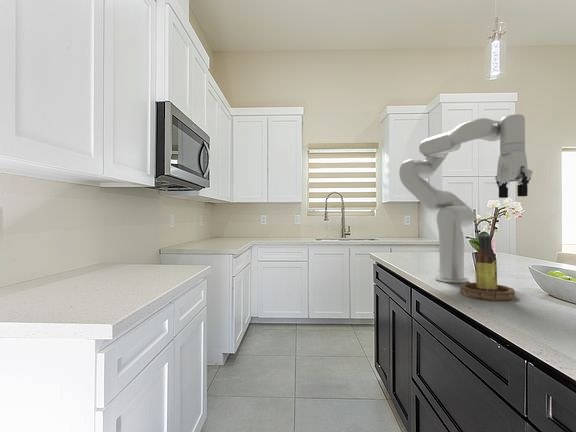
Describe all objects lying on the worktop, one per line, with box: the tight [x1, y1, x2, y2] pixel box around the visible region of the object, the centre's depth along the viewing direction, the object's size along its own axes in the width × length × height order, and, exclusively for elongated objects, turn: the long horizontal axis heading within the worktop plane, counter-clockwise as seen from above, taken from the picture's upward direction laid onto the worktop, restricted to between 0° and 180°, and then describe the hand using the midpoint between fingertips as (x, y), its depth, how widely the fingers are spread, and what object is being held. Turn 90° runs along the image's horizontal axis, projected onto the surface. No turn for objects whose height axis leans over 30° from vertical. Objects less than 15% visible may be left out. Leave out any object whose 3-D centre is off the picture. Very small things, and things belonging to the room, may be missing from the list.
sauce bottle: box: [475, 235, 498, 292], centre depth 113 cm, size 7×6×20 cm
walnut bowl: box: [459, 282, 516, 302], centre depth 114 cm, size 16×16×3 cm
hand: (512, 197), depth 119 cm, fingers open, 9 cm apart
